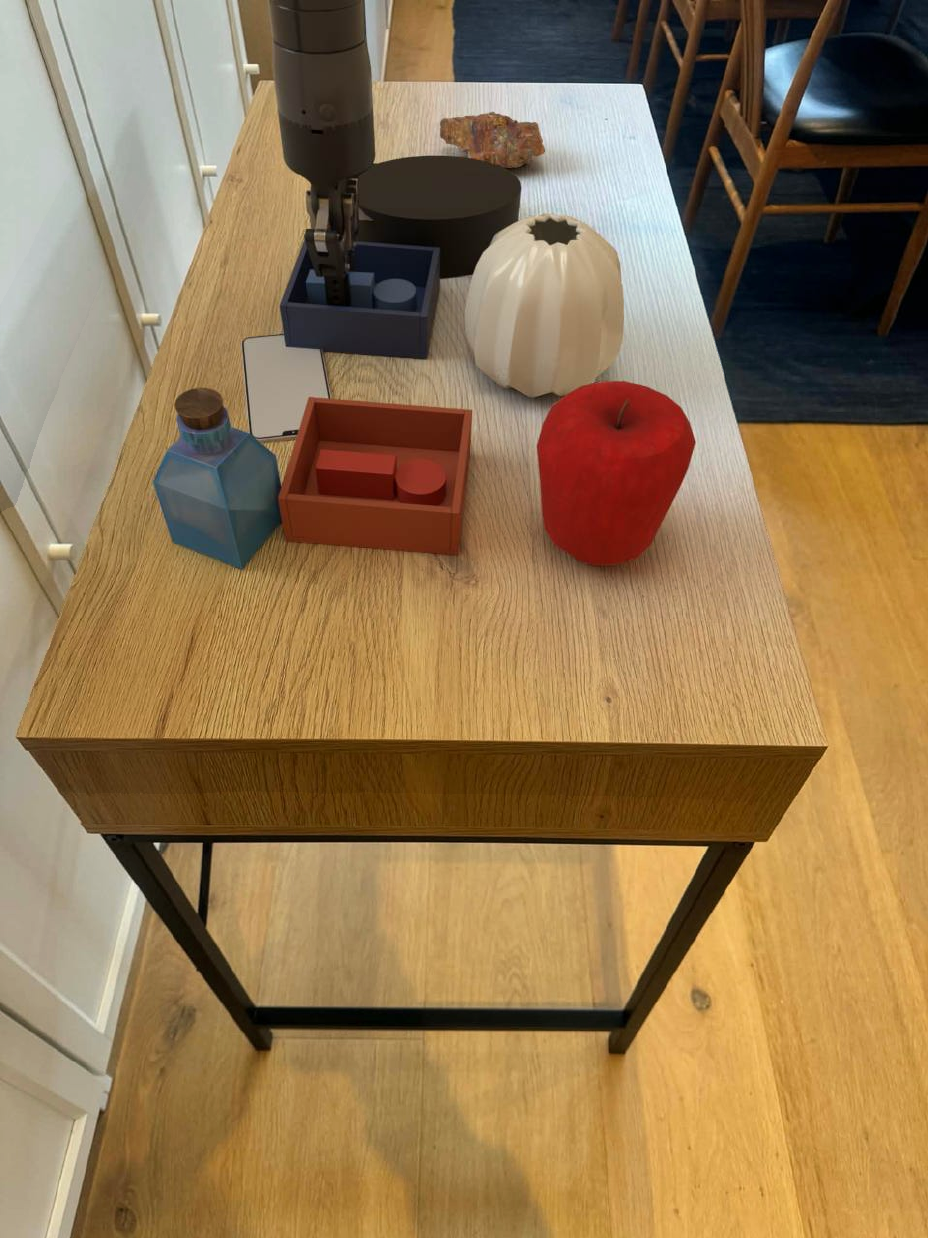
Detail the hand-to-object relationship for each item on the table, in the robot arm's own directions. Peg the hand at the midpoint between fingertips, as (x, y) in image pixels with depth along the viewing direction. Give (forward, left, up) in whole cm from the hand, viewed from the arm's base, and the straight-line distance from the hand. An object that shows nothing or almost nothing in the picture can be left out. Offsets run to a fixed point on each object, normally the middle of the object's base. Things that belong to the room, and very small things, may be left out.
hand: (341, 297), depth 84 cm
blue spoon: (+2, 0, -1) cm, 2 cm away
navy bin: (+2, +1, -3) cm, 3 cm away
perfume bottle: (-4, -28, -3) cm, 29 cm away
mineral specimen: (+12, +35, -3) cm, 37 cm away
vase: (+19, -5, -3) cm, 20 cm away
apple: (+24, -26, -3) cm, 35 cm away
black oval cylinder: (+7, +16, -3) cm, 18 cm away
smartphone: (-3, -10, -3) cm, 11 cm away
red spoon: (+7, -23, -2) cm, 24 cm away
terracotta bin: (+7, -23, -3) cm, 24 cm away
